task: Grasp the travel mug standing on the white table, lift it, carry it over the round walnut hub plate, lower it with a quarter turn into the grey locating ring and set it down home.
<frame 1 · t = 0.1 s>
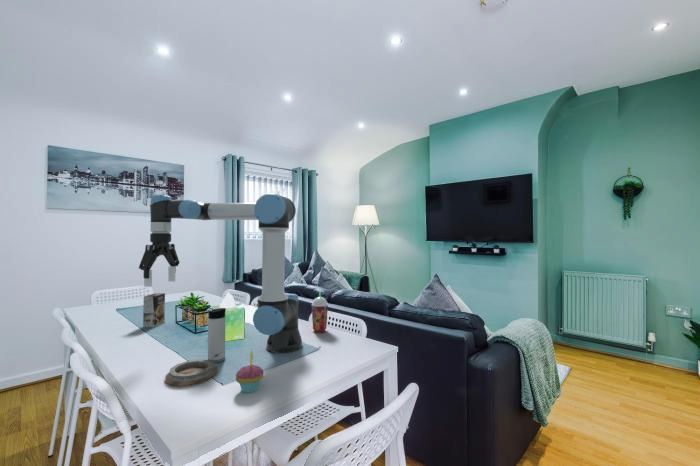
hand: (160, 283, 133), 28 cm above the table, fingers open, 13 cm apart
coffee box: (154, 325, 170), on the table
travel mug: (216, 360, 124), on the table
cupcake: (249, 389, 101), on the table
smoothie: (319, 331, 162), on the table
hub plate: (191, 375, 111), on the table
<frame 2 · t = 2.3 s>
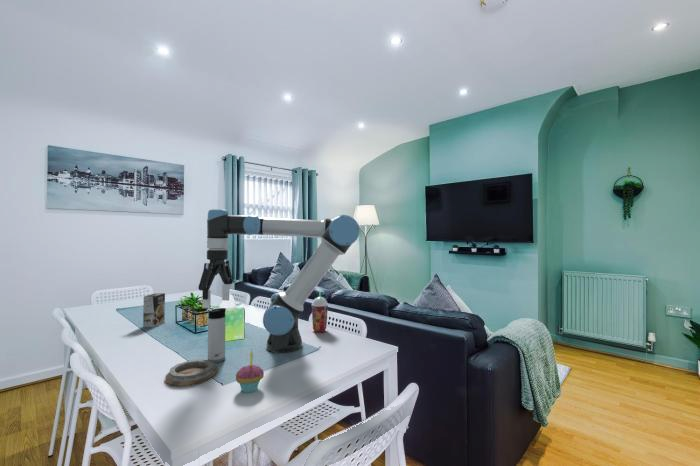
hand: (216, 303, 124), 22 cm above the table, fingers open, 13 cm apart
nothing on the table moved.
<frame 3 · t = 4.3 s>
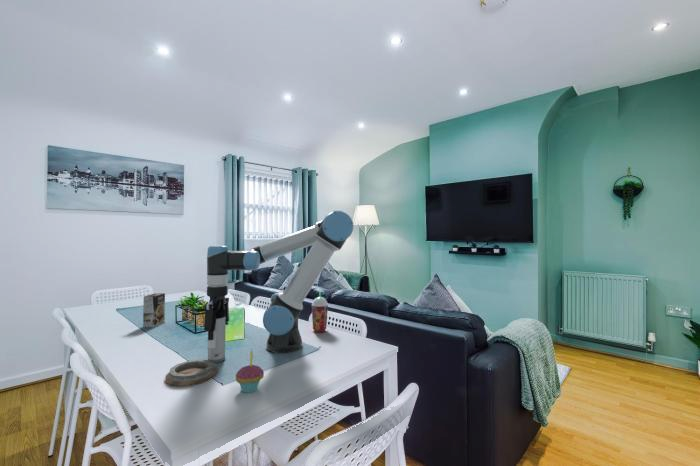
hand: (217, 344, 124), 6 cm above the table, fingers closed on travel mug, 6 cm apart
travel mug: (216, 360, 124), on the table, touching gripper
everything else where it was.
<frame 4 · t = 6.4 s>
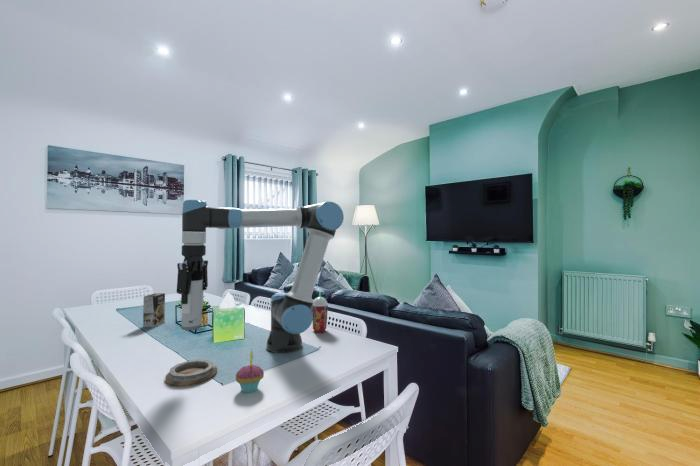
hand: (192, 310, 111), 22 cm above the table, fingers closed on travel mug, 6 cm apart
travel mug: (191, 328, 111), point 16 cm above the table, touching gripper
everything else where it was.
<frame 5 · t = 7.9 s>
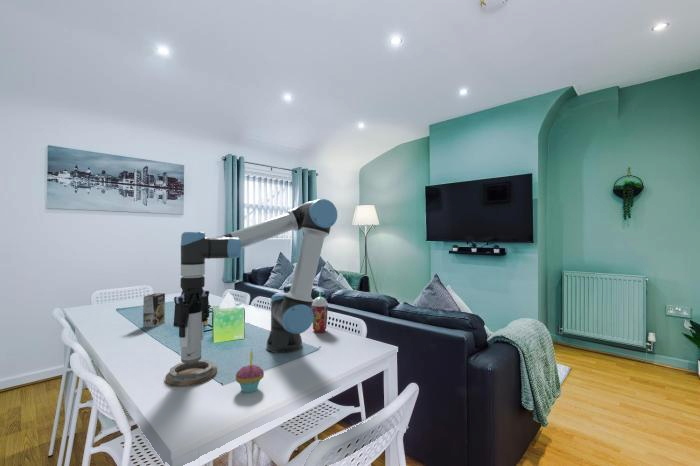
hand: (192, 342, 111), 11 cm above the table, fingers closed on travel mug, 6 cm apart
travel mug: (191, 360, 111), point 5 cm above the table, touching gripper
everything else where it was.
when the fingers open (8 cm above the table, at t = 8.8 s): travel mug drops 1 cm, resting on hub plate.
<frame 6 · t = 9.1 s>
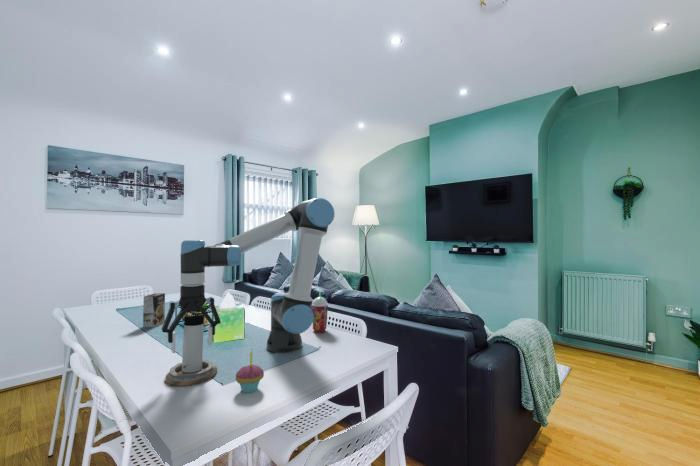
hand: (192, 348, 111), 9 cm above the table, fingers open, 11 cm apart
travel mug: (192, 372, 111), point 1 cm above the table, touching hub plate
everything else where it was.
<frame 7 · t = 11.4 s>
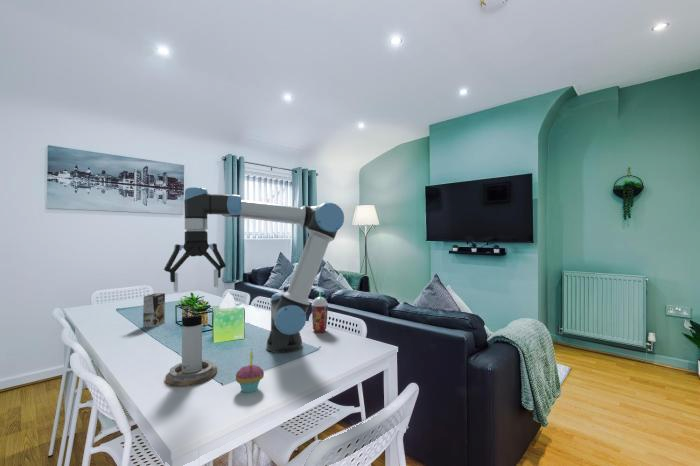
hand: (196, 289, 116), 29 cm above the table, fingers open, 13 cm apart
nothing on the table moved.
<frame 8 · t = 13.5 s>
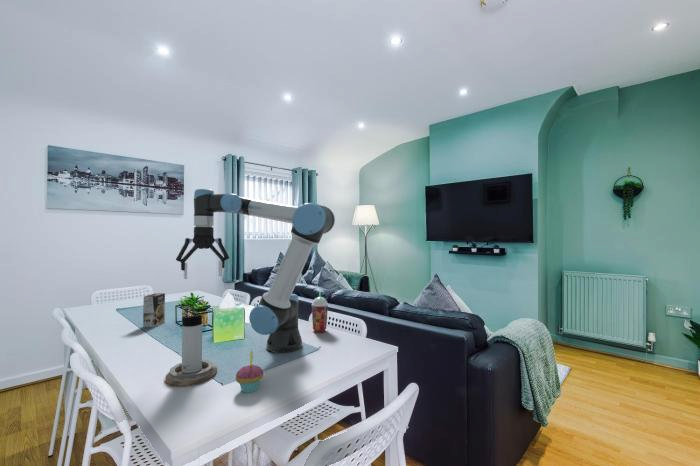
hand: (203, 277, 134), 31 cm above the table, fingers open, 13 cm apart
nothing on the table moved.
at the end: travel mug 0.1 cm from the hub plate (horizontally); travel mug tilted 0°; the gripper is holding nothing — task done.
